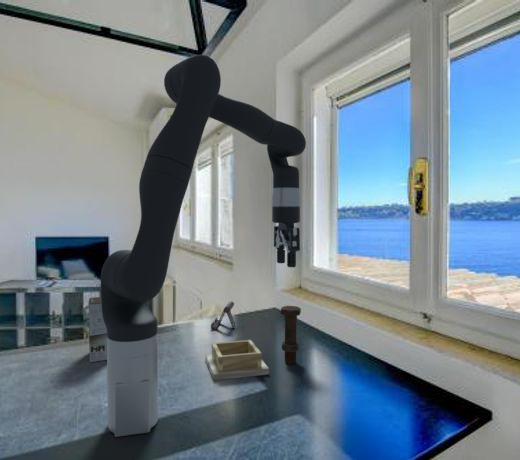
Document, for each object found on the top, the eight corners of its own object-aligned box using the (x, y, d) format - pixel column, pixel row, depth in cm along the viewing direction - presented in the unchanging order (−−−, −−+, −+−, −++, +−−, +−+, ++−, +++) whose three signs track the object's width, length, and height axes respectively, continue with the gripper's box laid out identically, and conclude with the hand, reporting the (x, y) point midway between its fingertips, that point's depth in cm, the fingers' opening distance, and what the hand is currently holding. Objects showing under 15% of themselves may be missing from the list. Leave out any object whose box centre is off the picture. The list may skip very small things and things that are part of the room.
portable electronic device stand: (216, 323, 145) (216, 300, 145) (237, 324, 144) (237, 301, 144) (210, 330, 136) (210, 306, 136) (233, 331, 135) (233, 307, 135)
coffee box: (114, 359, 108) (113, 301, 108) (89, 362, 106) (88, 303, 105) (112, 348, 117) (112, 295, 116) (89, 351, 114) (88, 297, 113)
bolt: (304, 362, 106) (305, 308, 106) (293, 367, 103) (293, 311, 102) (287, 357, 110) (288, 304, 110) (276, 362, 107) (276, 307, 106)
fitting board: (268, 374, 99) (268, 354, 98) (213, 380, 95) (213, 360, 95) (254, 354, 112) (254, 337, 112) (205, 359, 108) (205, 341, 108)
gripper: (309, 204, 100) (309, 268, 101) (290, 205, 113) (289, 261, 114) (281, 204, 98) (281, 269, 98) (265, 205, 111) (265, 262, 112)
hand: (286, 265), depth 106 cm, fingers open, 8 cm apart
